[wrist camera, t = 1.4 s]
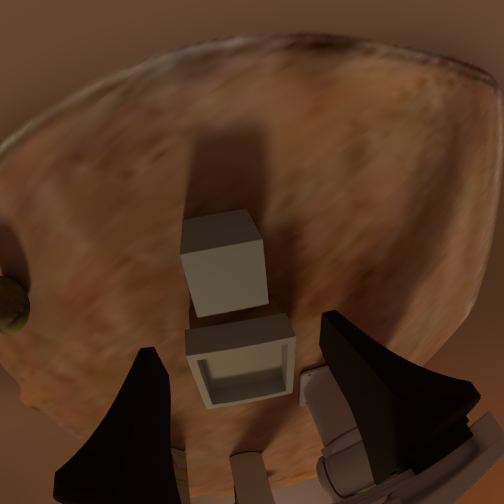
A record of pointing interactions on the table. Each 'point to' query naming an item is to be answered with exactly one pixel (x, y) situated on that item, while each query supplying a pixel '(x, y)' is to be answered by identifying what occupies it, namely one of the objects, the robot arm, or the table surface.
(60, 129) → the table surface
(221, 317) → the walnut block
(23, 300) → the lime
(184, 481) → the skincare box
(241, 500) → the paper towel roll
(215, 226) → the grey small block
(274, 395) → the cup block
